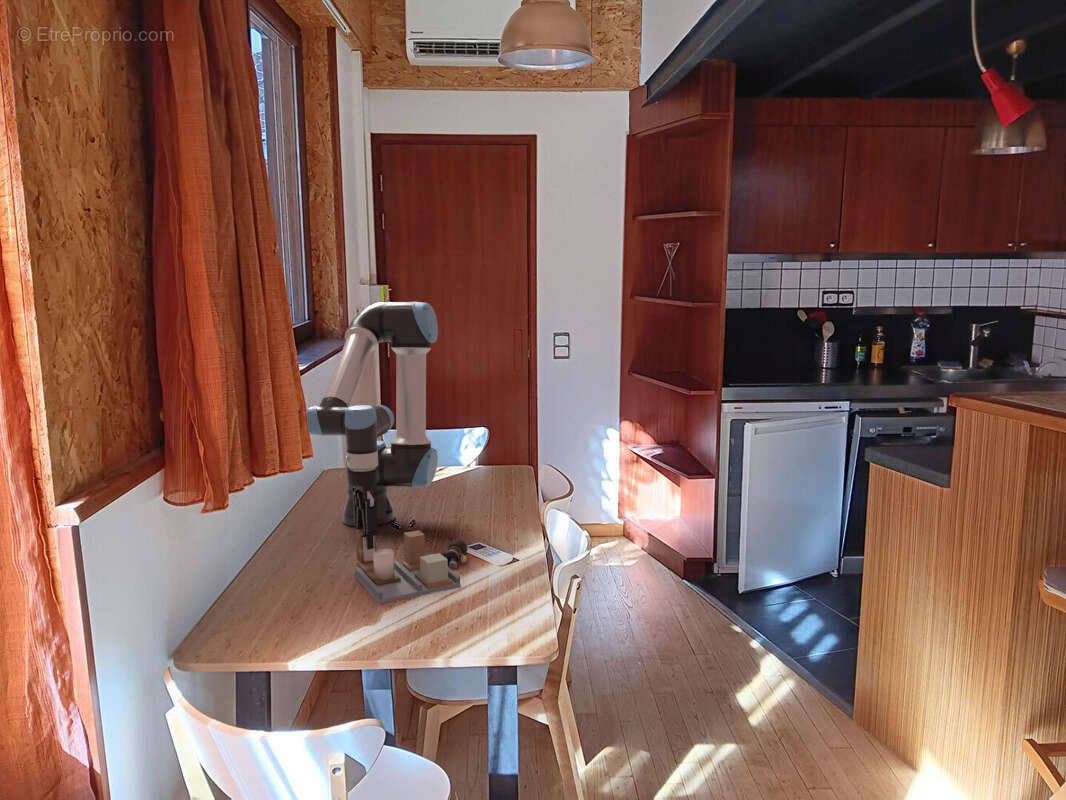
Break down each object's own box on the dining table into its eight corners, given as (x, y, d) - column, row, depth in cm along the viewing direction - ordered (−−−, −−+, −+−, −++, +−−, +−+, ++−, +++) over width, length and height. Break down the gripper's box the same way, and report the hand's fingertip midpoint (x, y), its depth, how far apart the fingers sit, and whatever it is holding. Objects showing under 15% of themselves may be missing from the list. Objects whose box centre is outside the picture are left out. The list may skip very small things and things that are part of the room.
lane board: (354, 576, 205) (352, 541, 204) (431, 562, 215) (429, 528, 213) (378, 603, 189) (377, 565, 187) (460, 586, 198) (459, 550, 197)
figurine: (462, 574, 210) (477, 554, 219) (460, 557, 208) (475, 537, 217) (432, 571, 213) (447, 551, 222) (429, 554, 211) (445, 534, 220)
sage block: (420, 576, 200) (419, 556, 199) (440, 572, 202) (439, 553, 202) (428, 583, 196) (427, 563, 195) (448, 579, 198) (447, 559, 197)
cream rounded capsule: (371, 574, 201) (370, 551, 200) (390, 571, 204) (389, 547, 203) (377, 581, 197) (376, 557, 196) (397, 577, 199) (396, 553, 198)
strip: (353, 561, 213) (351, 530, 212) (375, 556, 216) (374, 527, 215) (376, 586, 197) (374, 553, 195) (400, 581, 199) (399, 549, 198)
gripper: (338, 462, 214) (342, 549, 218) (358, 477, 200) (362, 570, 203) (367, 459, 218) (370, 545, 222) (388, 473, 203) (391, 565, 207)
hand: (366, 557), depth 213 cm, fingers closed on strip, 4 cm apart
